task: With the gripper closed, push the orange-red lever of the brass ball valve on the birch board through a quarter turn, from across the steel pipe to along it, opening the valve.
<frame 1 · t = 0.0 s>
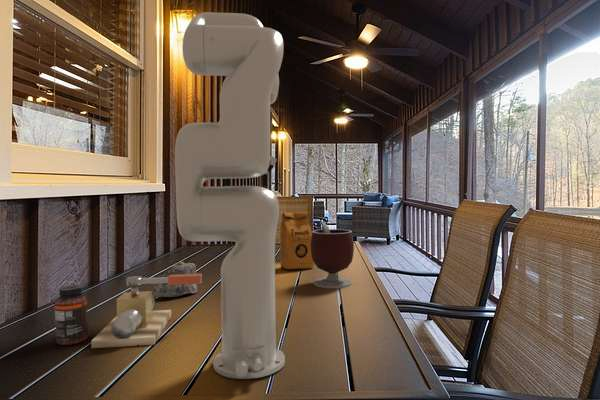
hand: (246, 188, 118), 31 cm above the table, fingers open, 9 cm apart
coffee package: (297, 268, 162), on the table
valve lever: (164, 280, 93), point 11 cm above the table, hinge at -90.0°
supplement bottle: (72, 341, 87), on the table
mineral rock: (176, 296, 123), on the table
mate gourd: (331, 283, 136), on the table
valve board: (135, 330, 93), on the table
valve body: (135, 304, 93), on the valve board, point 6 cm above the table
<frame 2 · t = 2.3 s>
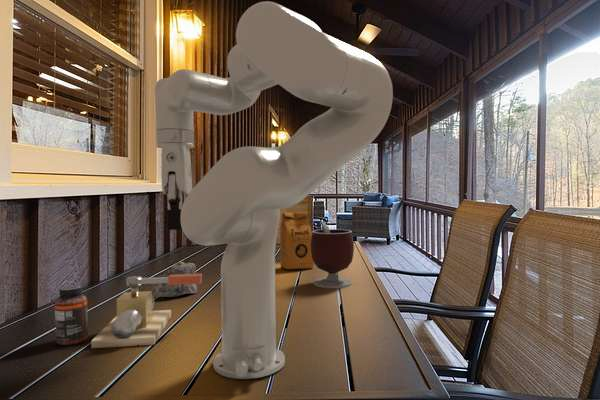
hand: (177, 228, 87), 23 cm above the table, fingers closed
nothing on the table moved.
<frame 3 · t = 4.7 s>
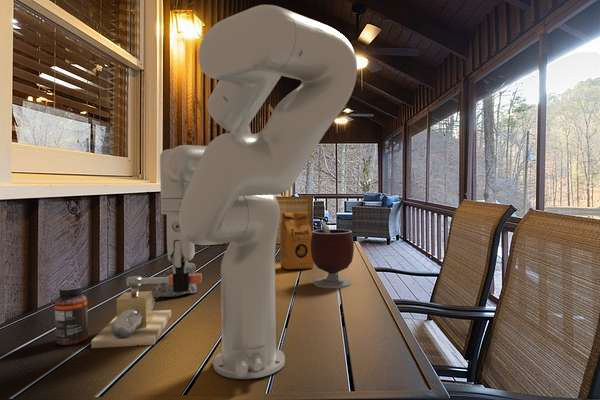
hand: (181, 290, 91), 9 cm above the table, fingers closed
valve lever: (164, 279, 93), point 11 cm above the table, hinge at -88.2°, touching gripper
everything else where it was.
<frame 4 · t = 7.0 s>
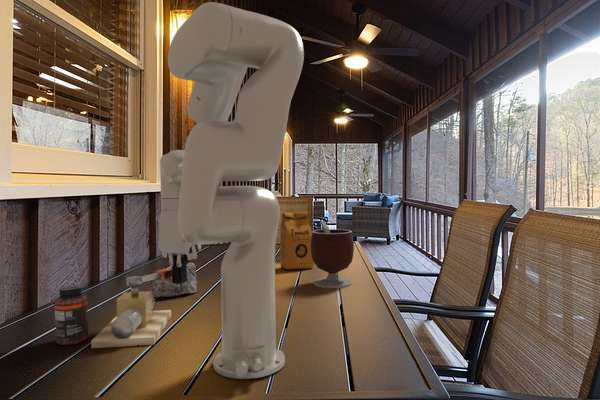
hand: (179, 282, 100), 9 cm above the table, fingers closed
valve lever: (156, 275, 98), point 11 cm above the table, hinge at -35.2°, touching gripper
everything else where it was.
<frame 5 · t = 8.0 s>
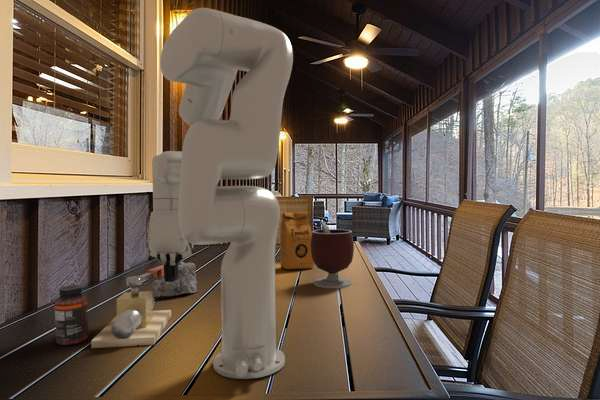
hand: (171, 280, 102), 9 cm above the table, fingers closed
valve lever: (149, 275, 99), point 11 cm above the table, hinge at -17.4°, touching gripper
everything else where it was.
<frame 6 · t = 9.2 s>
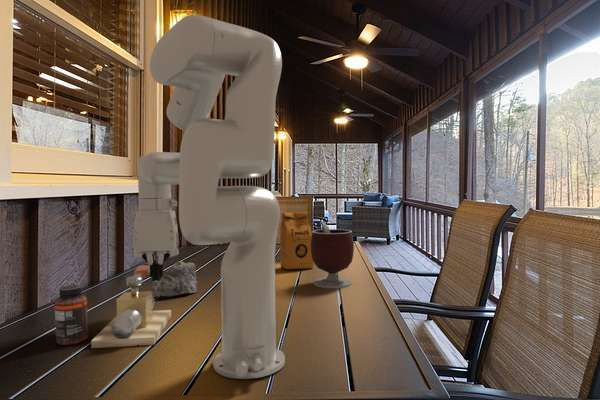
hand: (157, 279, 103), 9 cm above the table, fingers closed
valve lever: (139, 275, 99), point 11 cm above the table, hinge at 4.9°, touching gripper
everything else where it was.
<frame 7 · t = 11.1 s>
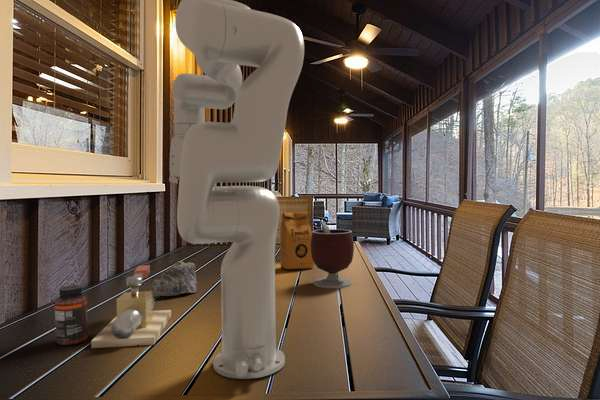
hand: (191, 205, 105), 27 cm above the table, fingers closed
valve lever: (139, 275, 99), point 11 cm above the table, hinge at 4.9°
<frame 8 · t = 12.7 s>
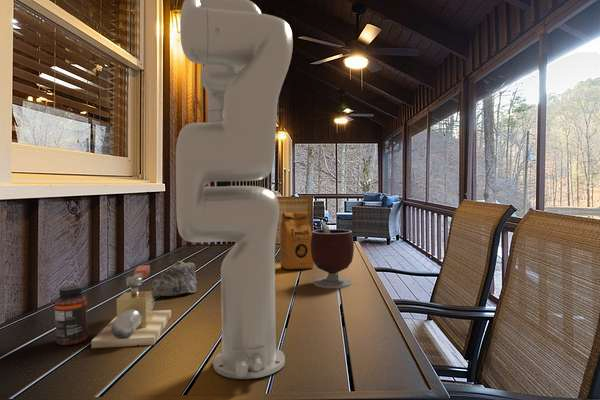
hand: (223, 189, 110), 31 cm above the table, fingers closed
at the end: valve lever at +5° (first picture: -90°) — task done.
